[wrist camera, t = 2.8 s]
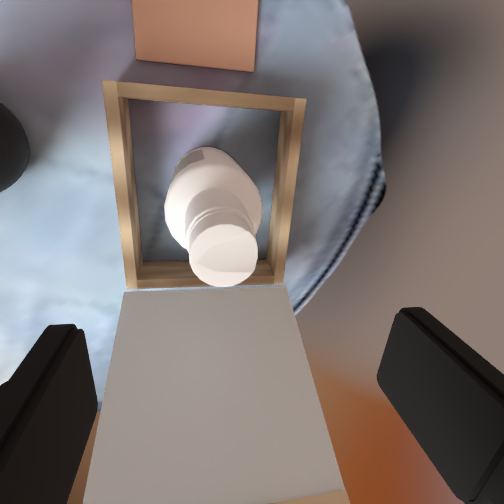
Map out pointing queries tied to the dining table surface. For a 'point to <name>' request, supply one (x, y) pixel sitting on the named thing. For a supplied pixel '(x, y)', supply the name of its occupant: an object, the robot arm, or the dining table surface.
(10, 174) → the cola bottle
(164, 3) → the thin terracotta tile
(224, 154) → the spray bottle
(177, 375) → the frame lid
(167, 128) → the dining table surface
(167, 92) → the frame
